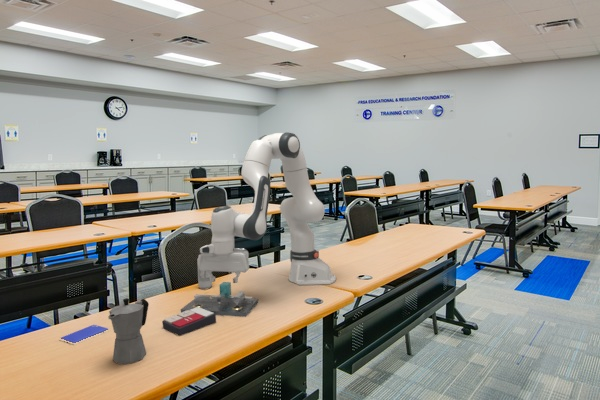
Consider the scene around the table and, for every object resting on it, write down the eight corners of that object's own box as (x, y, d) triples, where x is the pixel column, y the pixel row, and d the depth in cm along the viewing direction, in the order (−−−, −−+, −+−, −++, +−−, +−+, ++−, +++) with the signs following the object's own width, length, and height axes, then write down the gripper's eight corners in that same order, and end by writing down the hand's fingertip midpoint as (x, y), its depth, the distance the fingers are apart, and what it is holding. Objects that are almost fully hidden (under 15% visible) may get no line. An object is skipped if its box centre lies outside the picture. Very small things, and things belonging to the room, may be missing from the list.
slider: (231, 298, 173) (230, 282, 172) (223, 306, 164) (222, 289, 164) (223, 298, 174) (223, 281, 173) (215, 306, 165) (214, 288, 164)
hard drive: (93, 324, 152) (59, 337, 141) (108, 328, 148) (74, 342, 137) (93, 328, 152) (59, 342, 142) (108, 332, 148) (74, 347, 138)
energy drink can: (213, 285, 198) (212, 253, 197) (209, 289, 192) (208, 256, 191) (201, 285, 199) (199, 253, 197) (196, 289, 193) (195, 256, 191)
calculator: (161, 318, 150) (197, 304, 161) (162, 330, 150) (198, 315, 161) (178, 326, 142) (215, 311, 153) (180, 338, 143) (216, 323, 154)
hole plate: (258, 302, 174) (258, 287, 174) (246, 316, 159) (245, 301, 158) (198, 299, 179) (197, 285, 179) (180, 313, 164) (179, 298, 163)
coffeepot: (125, 370, 120) (121, 307, 118) (100, 364, 124) (95, 304, 122) (162, 347, 135) (159, 291, 133) (138, 343, 138) (134, 288, 136)
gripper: (250, 246, 170) (251, 281, 171) (202, 245, 174) (203, 278, 176) (245, 250, 164) (246, 285, 165) (195, 248, 168) (197, 283, 169)
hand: (224, 282), depth 170 cm, fingers open, 8 cm apart
